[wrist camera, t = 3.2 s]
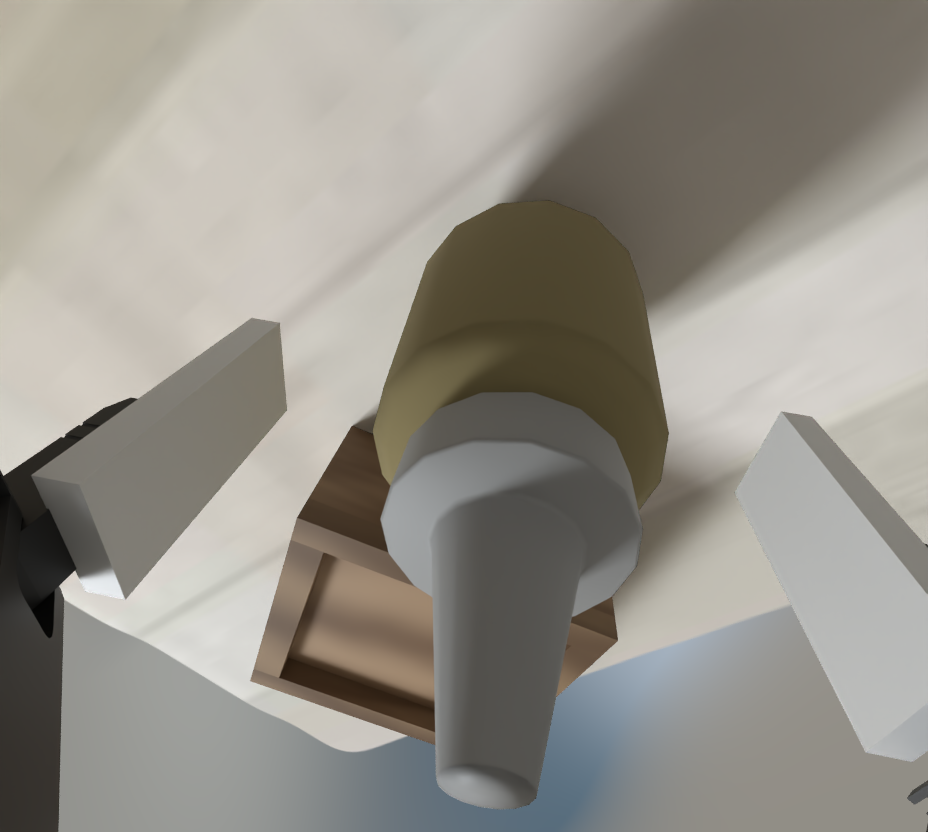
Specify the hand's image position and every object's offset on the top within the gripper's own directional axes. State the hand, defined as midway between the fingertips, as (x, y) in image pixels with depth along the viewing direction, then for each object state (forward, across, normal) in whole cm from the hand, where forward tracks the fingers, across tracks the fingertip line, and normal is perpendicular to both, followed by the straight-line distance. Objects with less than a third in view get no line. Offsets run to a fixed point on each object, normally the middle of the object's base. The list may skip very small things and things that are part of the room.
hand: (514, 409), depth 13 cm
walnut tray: (+10, -2, -18) cm, 20 cm away
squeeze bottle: (+9, 0, 0) cm, 9 cm away
